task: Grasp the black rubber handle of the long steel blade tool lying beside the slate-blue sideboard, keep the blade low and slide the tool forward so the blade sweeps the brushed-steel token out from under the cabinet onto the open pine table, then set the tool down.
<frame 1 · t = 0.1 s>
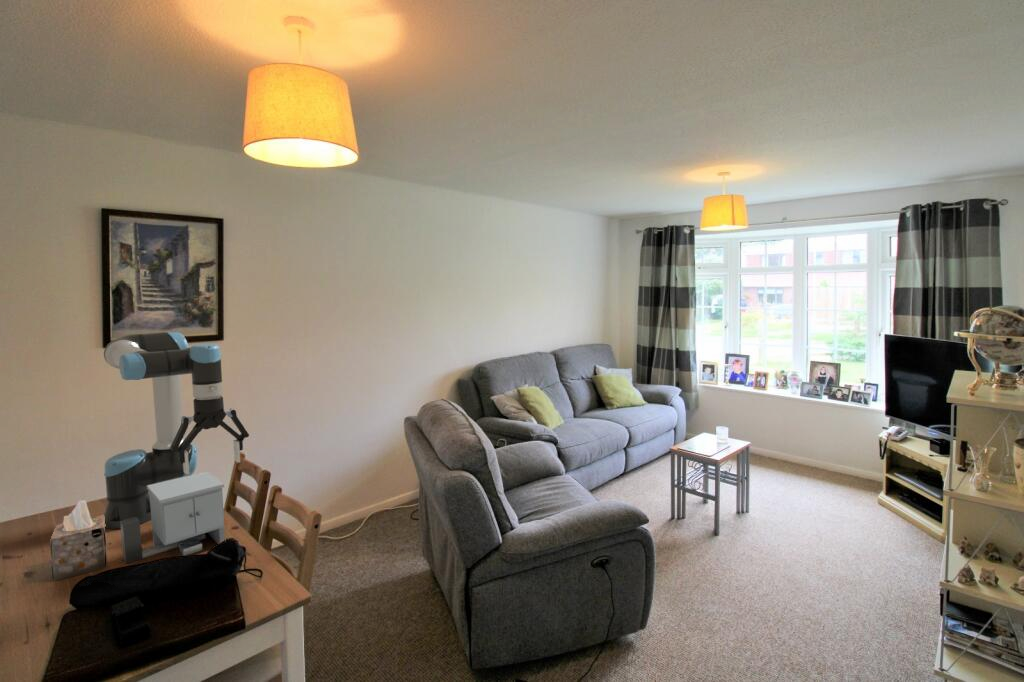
hand: (212, 467, 151), 28 cm above the table, fingers open, 13 cm apart
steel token: (190, 550, 158), on the table
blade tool: (133, 558, 153), on the table
sideboard cabinet: (189, 545, 160), on the table
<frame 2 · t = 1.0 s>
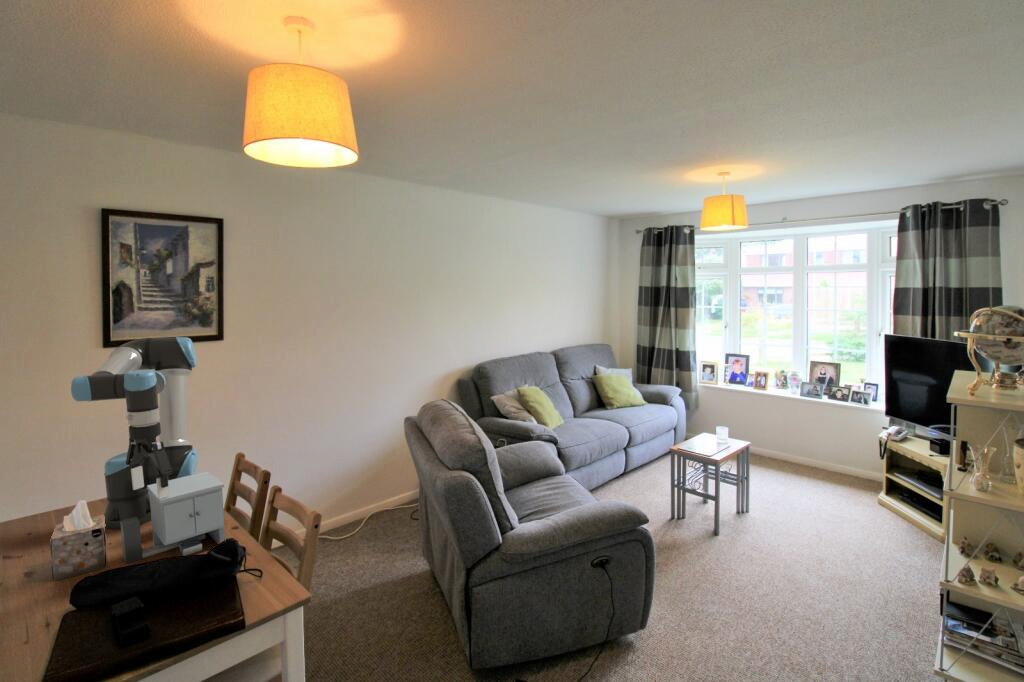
hand: (151, 492, 152), 20 cm above the table, fingers open, 13 cm apart
nothing on the table moved.
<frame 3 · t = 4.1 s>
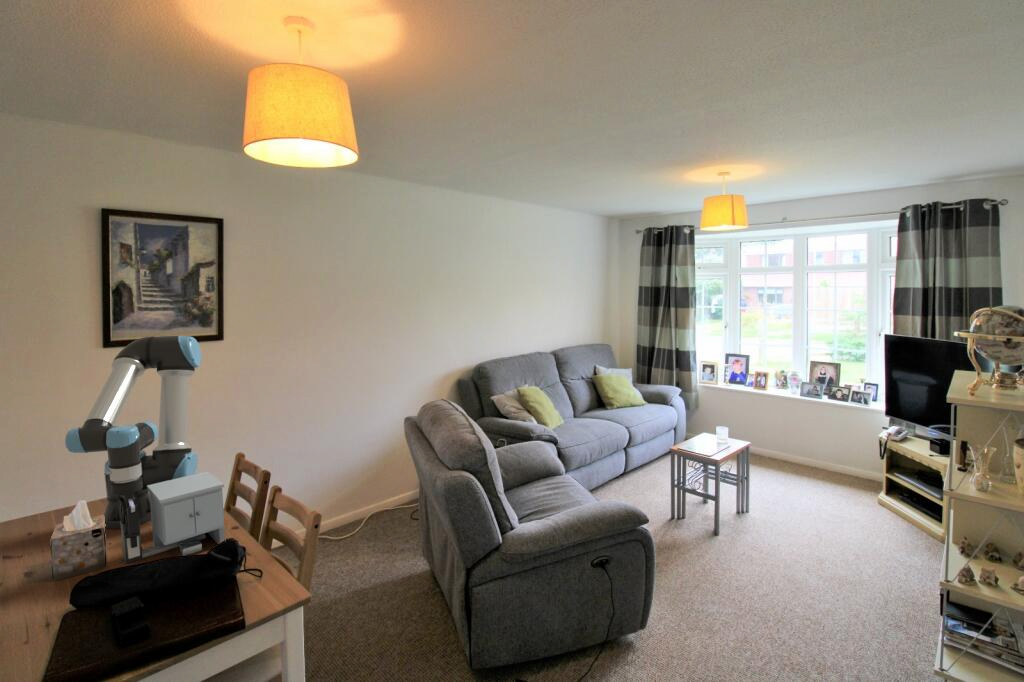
hand: (132, 553, 153), 2 cm above the table, fingers closed on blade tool, 4 cm apart
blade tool: (132, 558, 153), on the table, touching gripper
everything else where it was.
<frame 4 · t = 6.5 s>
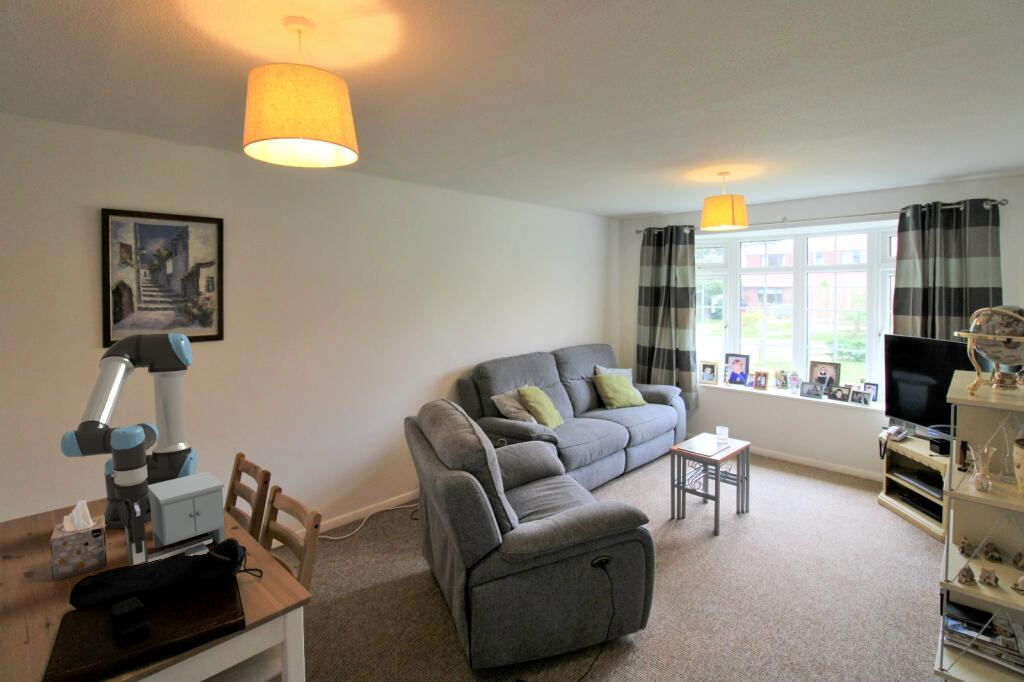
hand: (137, 559, 147), 3 cm above the table, fingers closed on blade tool, 4 cm apart
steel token: (196, 556, 155), on the table
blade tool: (138, 564, 147), point 1 cm above the table, touching gripper
everything else where it was.
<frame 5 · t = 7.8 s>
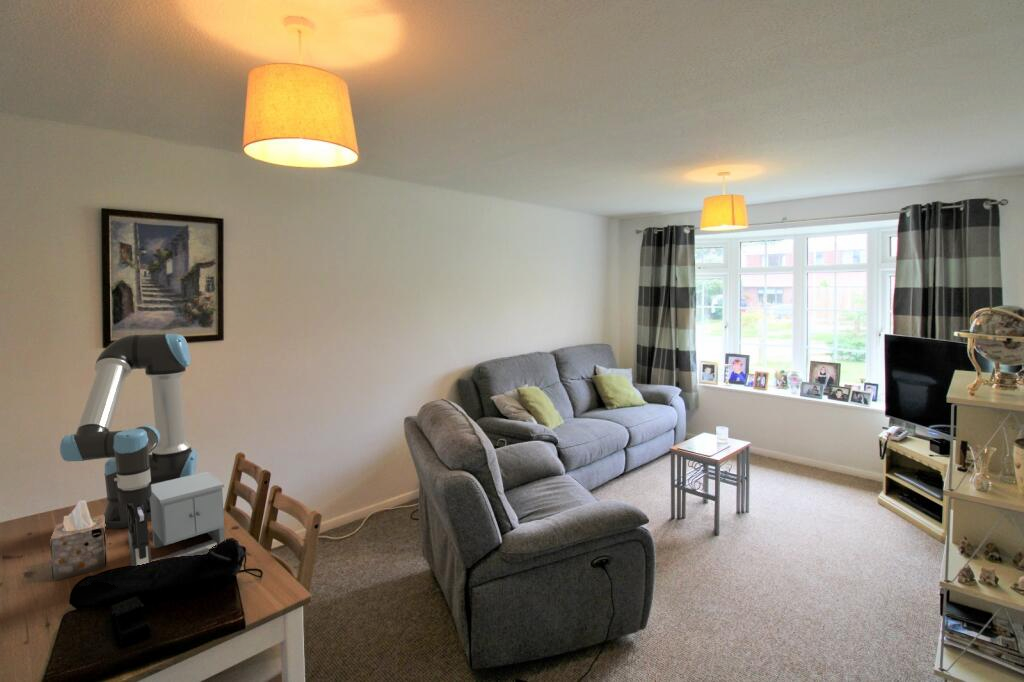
hand: (141, 564, 145), 3 cm above the table, fingers closed on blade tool, 4 cm apart
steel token: (200, 560, 152), on the table
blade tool: (141, 569, 145), point 1 cm above the table, touching gripper
everything else where it was.
when the fingers open (2 cm above the table, at t = 8.6 s): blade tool stays where it is, on the table.
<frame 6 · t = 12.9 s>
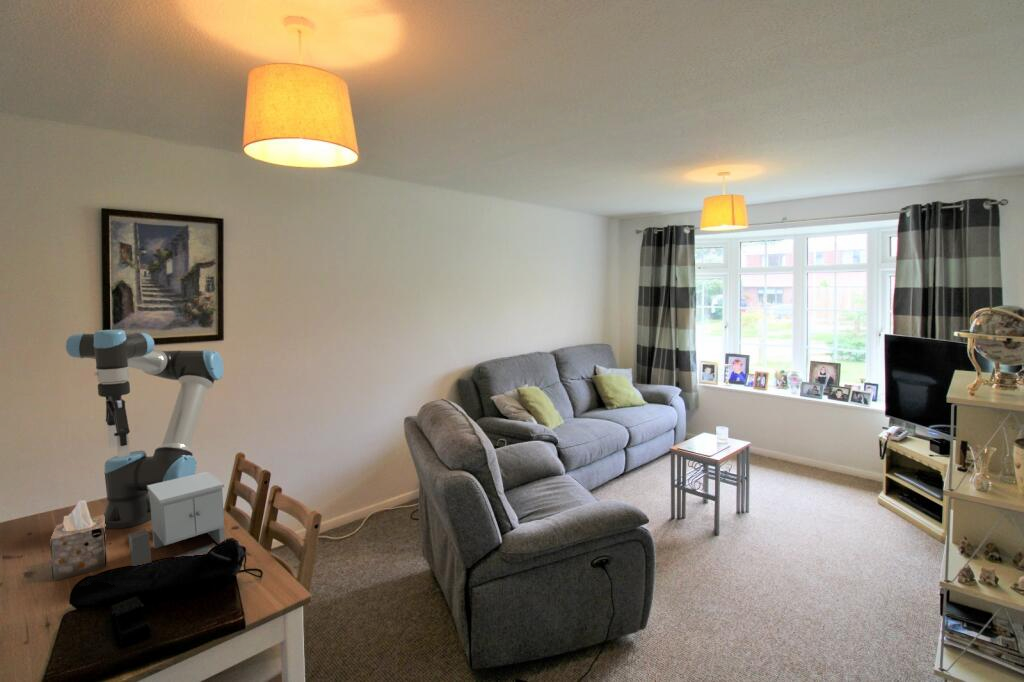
hand: (119, 450, 154), 32 cm above the table, fingers open, 13 cm apart
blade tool: (142, 573, 145), on the table
everything else where it was.
at the end: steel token inside the target area (4.0 cm from its centre), on the table; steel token touching table; the gripper is holding nothing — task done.
